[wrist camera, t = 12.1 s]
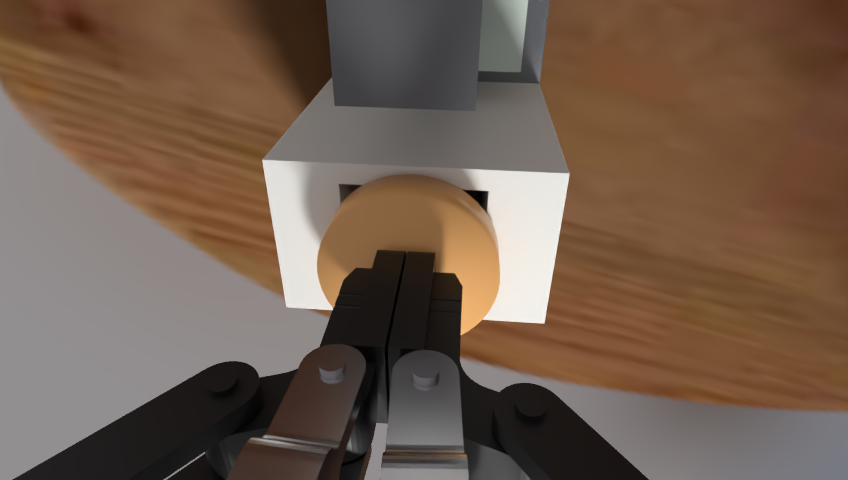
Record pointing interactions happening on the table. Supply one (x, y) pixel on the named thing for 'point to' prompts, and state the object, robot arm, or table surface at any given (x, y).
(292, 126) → the cabinet
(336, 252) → the button
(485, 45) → the carriage
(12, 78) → the table surface
